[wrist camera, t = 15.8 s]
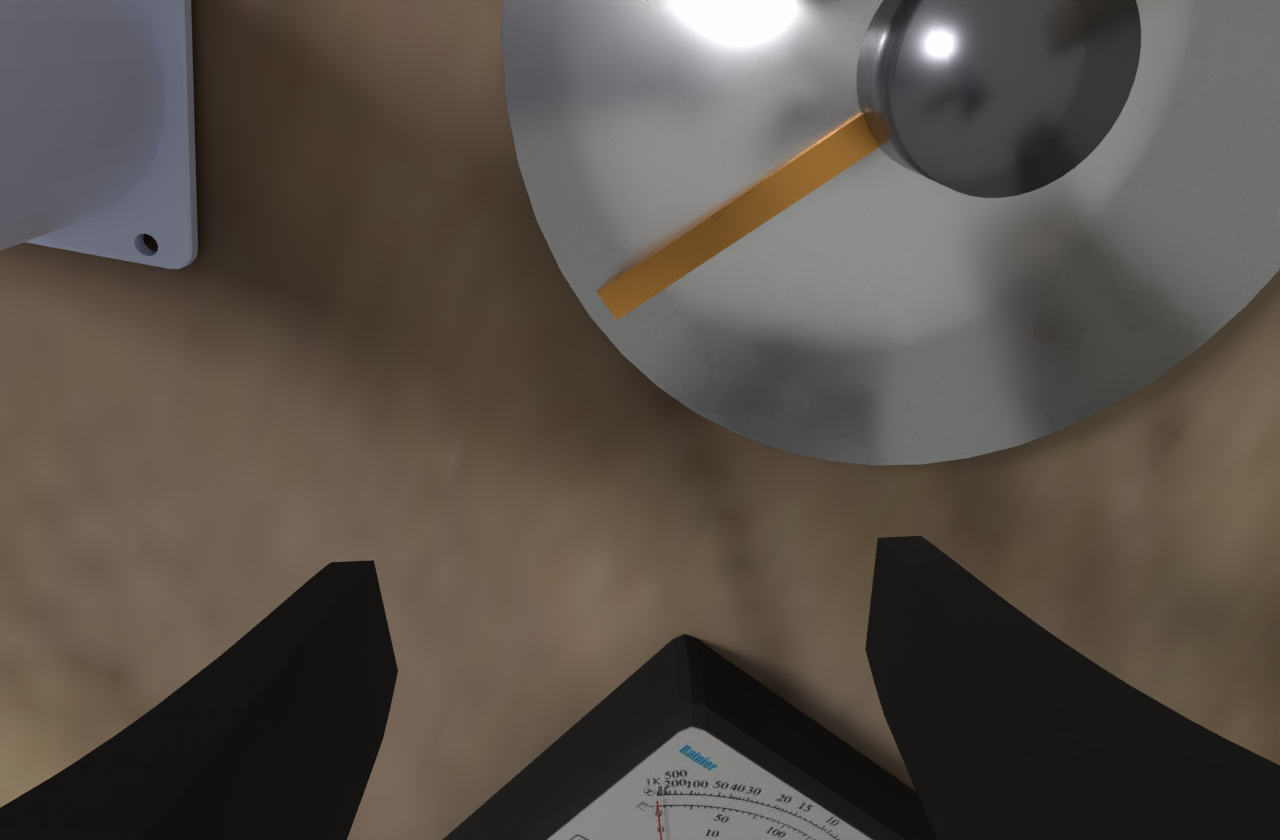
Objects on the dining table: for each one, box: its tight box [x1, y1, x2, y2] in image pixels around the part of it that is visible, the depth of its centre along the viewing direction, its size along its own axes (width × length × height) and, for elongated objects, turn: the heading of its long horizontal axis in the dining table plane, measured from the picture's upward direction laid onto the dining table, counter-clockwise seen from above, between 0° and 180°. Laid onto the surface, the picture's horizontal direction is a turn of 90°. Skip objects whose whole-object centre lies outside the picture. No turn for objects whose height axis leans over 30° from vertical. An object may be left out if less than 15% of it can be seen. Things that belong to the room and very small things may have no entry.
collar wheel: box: [501, 0, 1280, 466], centre depth 16 cm, size 19×19×4 cm
